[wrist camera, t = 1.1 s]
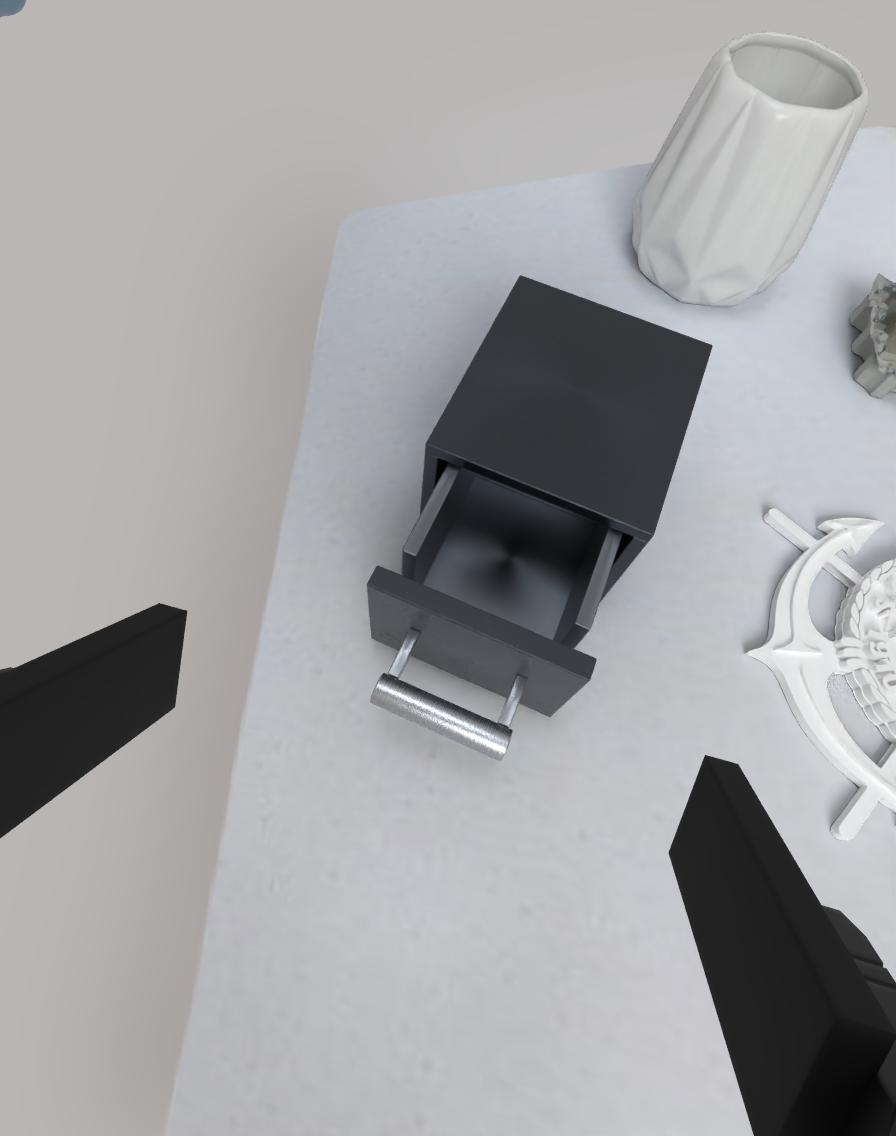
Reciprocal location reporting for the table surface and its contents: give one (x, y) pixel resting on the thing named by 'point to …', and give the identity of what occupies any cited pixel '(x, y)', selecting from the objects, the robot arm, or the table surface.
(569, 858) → the table surface
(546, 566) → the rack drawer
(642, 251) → the vase
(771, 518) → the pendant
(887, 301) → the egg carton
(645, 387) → the small drawer cabinet
